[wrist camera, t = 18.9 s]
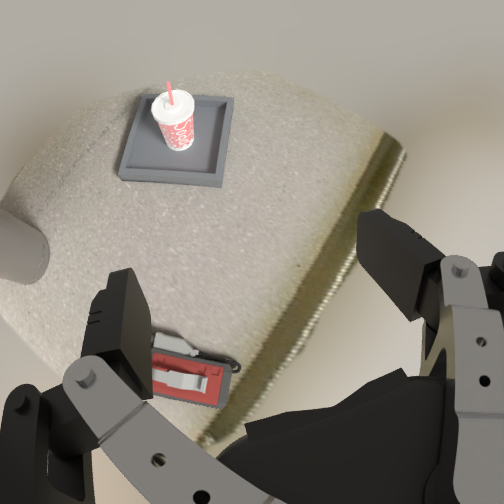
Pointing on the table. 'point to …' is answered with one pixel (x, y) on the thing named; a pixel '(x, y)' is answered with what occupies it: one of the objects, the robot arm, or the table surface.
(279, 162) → the table surface
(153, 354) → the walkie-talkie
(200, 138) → the tray
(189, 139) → the beverage cup
